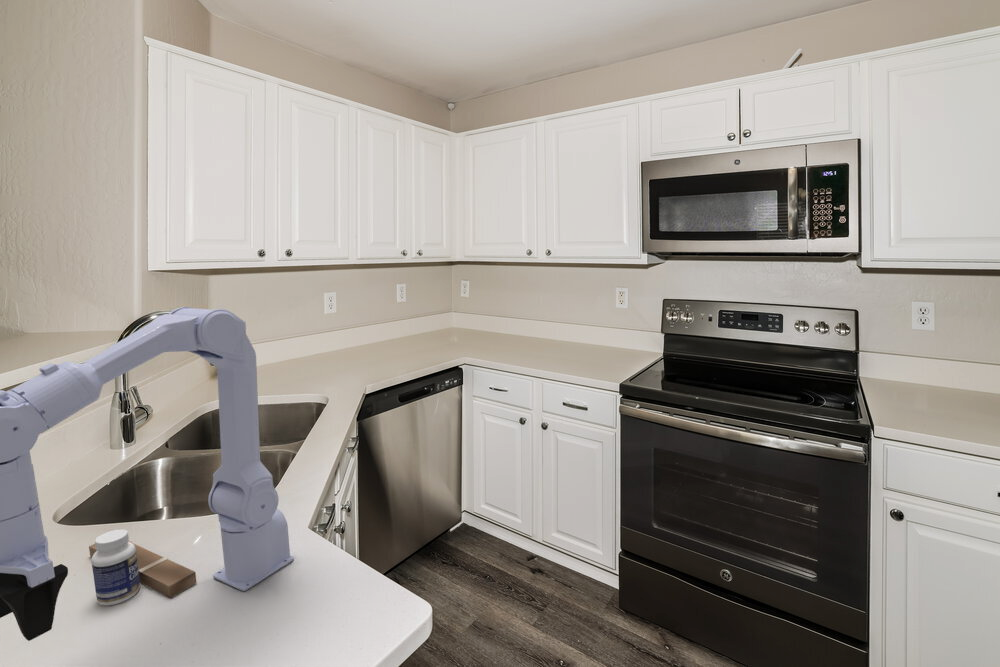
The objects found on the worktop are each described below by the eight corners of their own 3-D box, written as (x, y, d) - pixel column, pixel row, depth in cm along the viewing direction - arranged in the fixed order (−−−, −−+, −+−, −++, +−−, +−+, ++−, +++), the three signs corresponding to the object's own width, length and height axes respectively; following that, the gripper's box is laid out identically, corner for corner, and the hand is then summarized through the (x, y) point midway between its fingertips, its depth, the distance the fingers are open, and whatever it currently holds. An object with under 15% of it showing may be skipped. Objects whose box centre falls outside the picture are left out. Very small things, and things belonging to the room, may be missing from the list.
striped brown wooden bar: (116, 545, 91) (115, 534, 91) (196, 583, 80) (195, 570, 80) (90, 557, 88) (88, 545, 88) (170, 598, 77) (168, 585, 76)
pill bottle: (140, 597, 77) (132, 538, 76) (95, 611, 74) (86, 550, 73) (141, 579, 81) (133, 523, 80) (98, 592, 78) (90, 533, 77)
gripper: (-73, 513, 55) (-51, 625, 57) (-19, 546, 49) (4, 671, 51) (11, 487, 62) (28, 588, 64) (70, 513, 55) (87, 626, 57)
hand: (23, 623), depth 58 cm, fingers open, 7 cm apart
